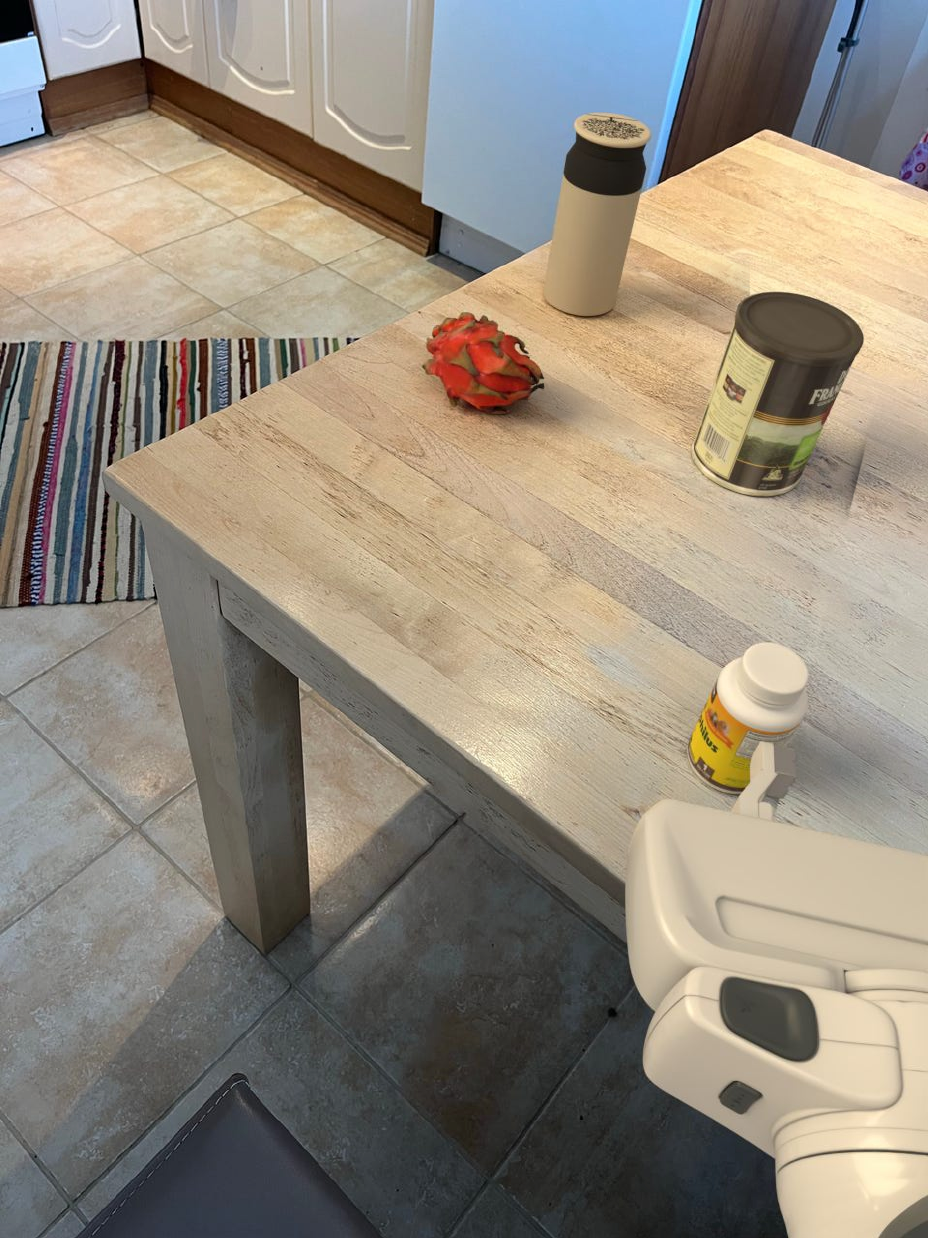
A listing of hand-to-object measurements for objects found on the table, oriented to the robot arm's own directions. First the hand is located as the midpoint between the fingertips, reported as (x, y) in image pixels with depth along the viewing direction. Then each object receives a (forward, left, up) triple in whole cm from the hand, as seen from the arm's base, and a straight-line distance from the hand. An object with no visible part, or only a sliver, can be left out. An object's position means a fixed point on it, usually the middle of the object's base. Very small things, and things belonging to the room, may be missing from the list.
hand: (868, 772), depth 42 cm
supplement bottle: (+4, -12, -18) cm, 22 cm away
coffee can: (+10, -46, -18) cm, 50 cm away
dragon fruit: (+35, -42, -18) cm, 58 cm away
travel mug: (+33, -65, -18) cm, 75 cm away
